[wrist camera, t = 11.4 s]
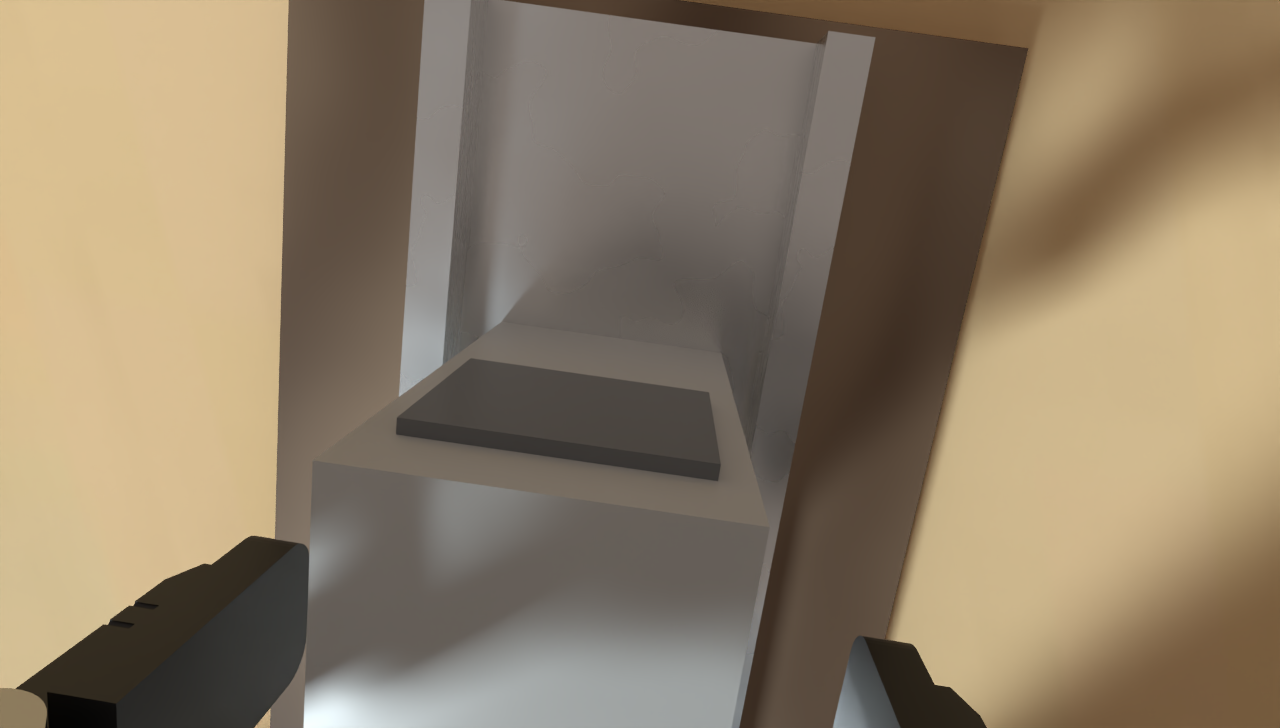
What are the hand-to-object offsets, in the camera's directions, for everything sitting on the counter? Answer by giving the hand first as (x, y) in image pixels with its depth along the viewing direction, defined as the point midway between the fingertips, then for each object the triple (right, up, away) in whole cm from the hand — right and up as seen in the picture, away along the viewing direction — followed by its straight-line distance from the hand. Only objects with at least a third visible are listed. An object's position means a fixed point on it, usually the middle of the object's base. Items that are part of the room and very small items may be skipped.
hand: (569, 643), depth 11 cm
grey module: (0, +1, +5) cm, 5 cm away
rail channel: (0, +1, +6) cm, 7 cm away
